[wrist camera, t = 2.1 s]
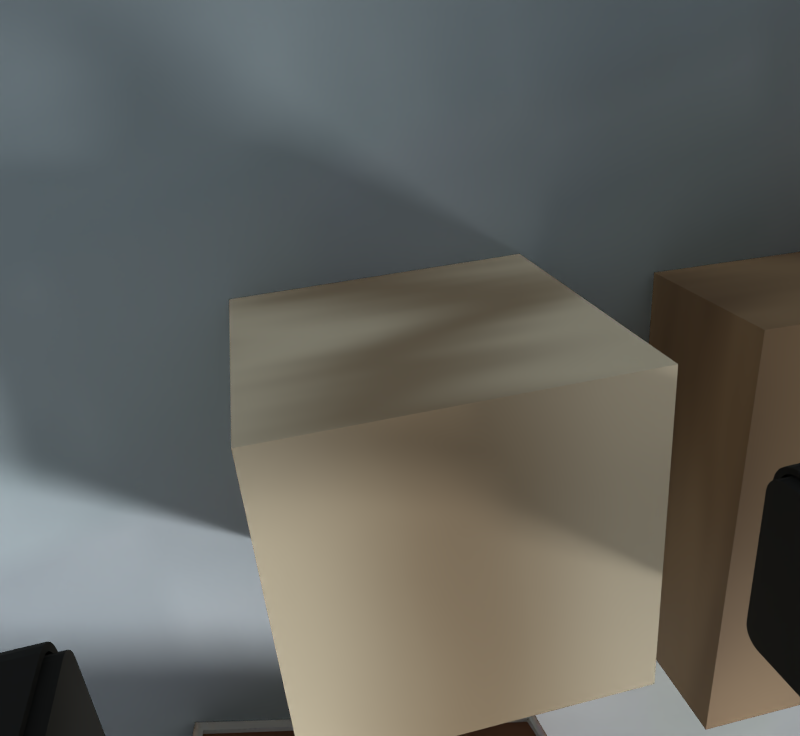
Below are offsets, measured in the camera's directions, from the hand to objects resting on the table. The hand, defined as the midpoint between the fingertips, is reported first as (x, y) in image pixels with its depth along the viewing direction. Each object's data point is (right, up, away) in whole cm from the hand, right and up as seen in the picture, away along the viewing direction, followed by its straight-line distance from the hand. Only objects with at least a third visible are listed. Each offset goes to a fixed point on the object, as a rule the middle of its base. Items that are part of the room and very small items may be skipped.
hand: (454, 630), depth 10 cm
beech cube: (-1, +3, +6) cm, 7 cm away
